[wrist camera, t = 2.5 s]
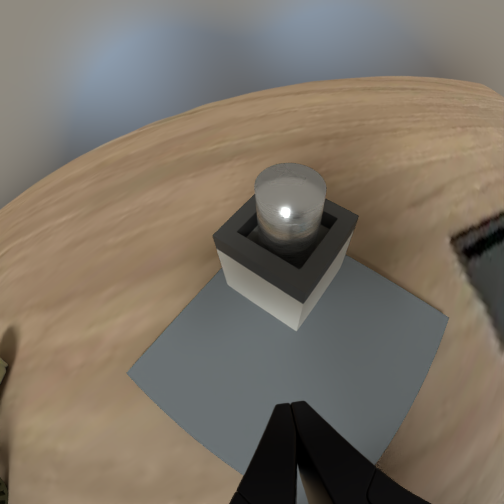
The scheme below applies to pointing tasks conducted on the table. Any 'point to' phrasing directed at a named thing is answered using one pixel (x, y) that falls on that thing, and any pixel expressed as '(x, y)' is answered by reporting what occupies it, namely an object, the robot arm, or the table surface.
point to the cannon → (0, 489)
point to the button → (289, 210)
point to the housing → (282, 263)
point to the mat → (293, 364)
